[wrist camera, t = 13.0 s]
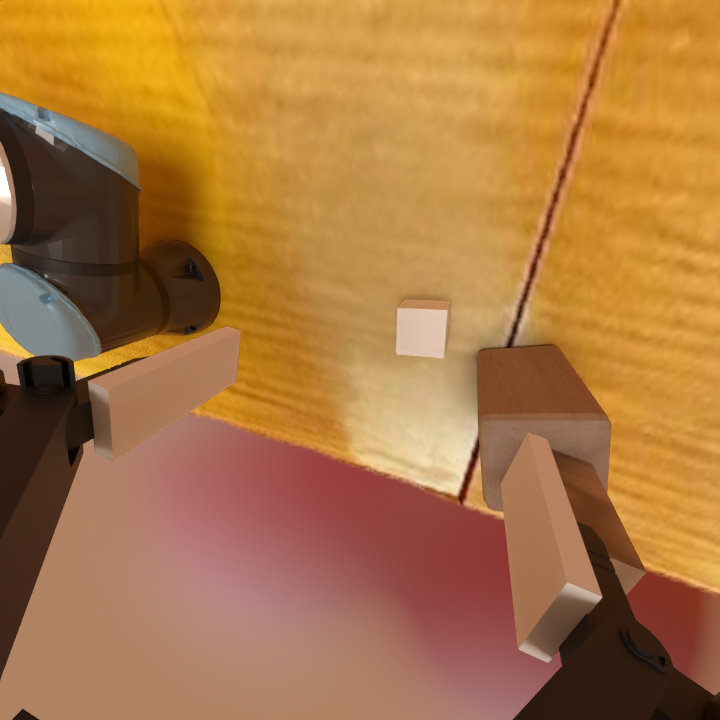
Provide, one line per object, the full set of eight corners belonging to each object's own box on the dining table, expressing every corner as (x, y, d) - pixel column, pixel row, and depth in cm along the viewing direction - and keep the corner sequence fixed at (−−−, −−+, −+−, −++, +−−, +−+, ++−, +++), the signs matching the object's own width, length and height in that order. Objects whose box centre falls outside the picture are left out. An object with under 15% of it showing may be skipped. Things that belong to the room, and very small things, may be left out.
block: (558, 413, 48) (609, 524, 30) (480, 413, 51) (484, 514, 33) (559, 342, 45) (616, 419, 27) (476, 347, 48) (477, 419, 30)
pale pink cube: (404, 340, 51) (396, 354, 45) (405, 299, 49) (397, 307, 43) (447, 343, 49) (444, 358, 44) (450, 300, 47) (447, 310, 42)
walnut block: (504, 485, 31) (517, 588, 22) (529, 440, 29) (553, 534, 20) (562, 507, 30) (599, 624, 21) (591, 463, 28) (646, 572, 19)
